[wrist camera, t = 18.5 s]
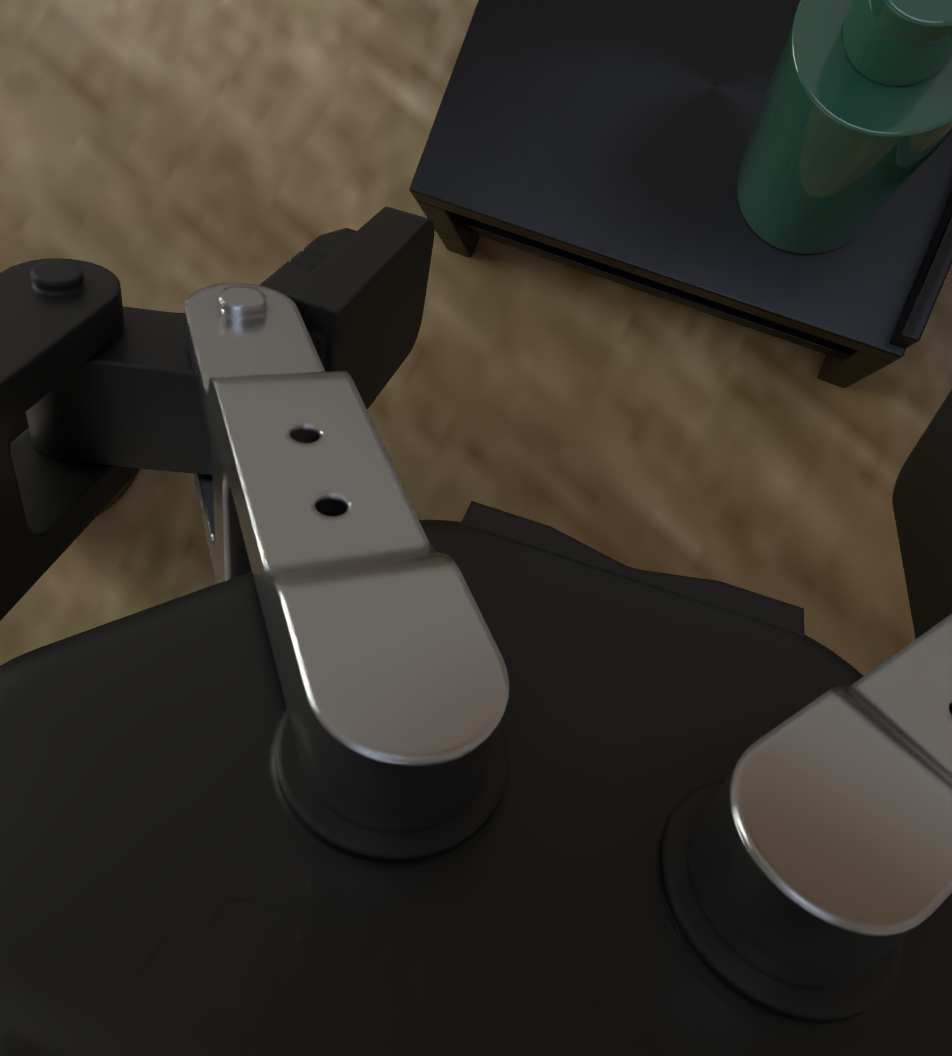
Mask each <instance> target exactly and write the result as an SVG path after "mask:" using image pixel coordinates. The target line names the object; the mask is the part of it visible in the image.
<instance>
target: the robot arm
mask: <svg viewBox="0 0 952 1056" xmlns="http://www.w3.org/2000/svg"><path fill="white" fill-rule="evenodd" d="M433 241H434V223H433V221H432V220H431V219H428V218H424V217H421V216H417V215H414V214H411V213H407V212H404V211H400V210H397V209H393V208H390V207H385V208H383V209H382V210H381V211H380V212H378V213H377V214H376V215H375V216H374V217H373V218H372V219H371V220H369V221H368V222H367V223H366V224H365V225H364V226H363V227H361V228H360V229H359V230H358V231H355V230H352V229H348V228H345V229H341V230H338V231H334V232H331V233H327V234H324V235H320V236H319V237H318V238H316V239H315V240H314V241H313V242H312V243H310V244H309V245H308V246H307V247H305V248H304V251H303V252H302V251H301V252H299V253H298V254H297V255H296V256H294V257H293V258H292V259H291V262H287V263H286V264H285V265H283V266H282V267H281V268H280V269H279V270H277V271H276V272H275V273H274V274H272V275H271V276H270V277H269V278H268V279H266V280H265V281H264V282H263V283H261V284H260V285H254V284H247V283H223V284H215V285H211V286H207V287H204V288H202V289H199V290H197V291H196V292H194V293H193V294H191V295H190V296H189V297H188V299H187V300H186V303H185V313H171V312H162V311H154V310H146V309H138V308H130V307H123V306H122V297H121V288H120V282H119V280H118V278H117V277H116V276H115V275H114V274H113V273H112V272H111V271H109V270H107V269H106V268H103V267H101V266H99V265H96V264H93V263H89V262H85V261H80V260H73V259H41V260H34V261H29V262H25V263H21V264H18V265H15V266H13V267H11V268H9V269H7V270H5V271H3V272H2V273H0V621H1V619H2V618H3V617H4V616H5V615H6V614H7V613H8V612H9V611H10V610H11V609H12V608H13V606H14V605H15V604H16V603H17V602H18V601H19V600H20V599H21V598H22V597H23V596H24V594H25V593H26V592H27V591H28V590H29V589H30V588H31V587H32V586H33V585H34V584H35V582H36V581H37V580H38V579H39V578H40V577H41V576H42V575H43V574H44V573H45V572H46V571H47V569H48V568H49V567H50V566H51V565H52V564H53V563H54V562H55V561H56V560H57V559H58V557H59V556H60V555H61V554H62V553H63V552H64V551H65V550H66V549H67V548H68V547H69V545H70V544H71V543H72V542H73V541H74V540H75V539H76V538H77V537H78V536H79V535H80V533H81V532H82V531H83V530H84V529H85V528H86V527H87V526H88V525H89V524H90V523H91V522H92V520H93V519H94V518H95V517H96V516H97V515H98V514H99V513H101V512H102V511H104V510H105V509H107V508H108V507H109V506H110V505H111V504H113V503H114V502H115V501H116V500H117V499H118V498H119V497H120V496H121V494H122V493H123V492H124V491H125V489H126V488H127V486H128V485H129V483H130V482H131V480H132V478H133V476H134V474H135V473H136V472H137V470H138V468H142V469H153V470H163V471H174V472H185V473H194V474H195V486H196V490H197V495H198V500H199V504H200V509H201V514H202V518H203V523H204V528H205V532H206V537H207V542H208V547H209V551H210V556H211V561H212V565H213V570H214V576H215V583H216V584H215V585H213V586H210V587H207V588H204V589H201V590H199V591H196V592H193V593H190V594H188V595H185V596H182V597H179V598H176V599H174V600H171V601H168V602H165V603H163V604H160V605H157V606H154V607H151V608H149V609H146V610H143V611H140V612H138V613H135V614H132V615H129V616H126V617H124V618H121V619H118V620H115V621H113V622H110V623H107V624H104V625H101V626H99V627H96V628H93V629H90V630H88V631H85V632H82V633H79V634H76V635H74V636H71V637H68V638H65V639H63V640H60V641H57V642H54V643H51V644H49V645H46V646H43V647H40V648H38V649H35V650H33V651H30V652H28V653H26V654H23V655H21V656H19V657H16V658H14V659H12V660H10V661H8V662H6V663H5V664H3V665H1V666H0V1056H952V390H951V392H950V393H949V395H948V396H947V398H946V399H945V401H944V402H943V404H942V406H941V407H940V409H939V410H938V412H937V413H936V415H935V416H934V418H933V420H932V421H931V423H930V424H929V426H928V427H927V429H926V430H925V432H924V434H923V435H922V437H921V438H920V440H919V441H918V443H917V444H916V446H915V448H914V449H913V451H912V452H911V454H910V455H909V457H908V458H907V460H906V462H905V463H904V465H903V467H902V469H901V471H900V473H899V475H898V478H897V481H896V484H895V487H894V491H893V509H894V515H895V520H896V526H897V532H898V538H899V544H900V550H901V556H902V561H903V567H904V573H905V579H906V585H907V591H908V597H909V602H910V608H911V614H912V620H913V626H914V632H915V638H916V640H914V641H913V642H911V643H910V644H909V645H907V646H906V647H904V648H903V649H901V650H900V651H899V652H897V653H896V654H894V655H893V656H892V657H890V658H889V659H887V660H886V661H885V662H883V663H882V664H880V665H879V666H878V667H876V668H875V669H873V670H872V671H871V672H869V673H868V674H866V675H865V676H863V675H862V674H861V673H859V672H858V671H857V670H856V669H855V668H854V667H852V666H851V665H850V664H849V663H848V662H846V661H845V660H843V659H842V658H841V657H839V656H838V655H837V654H835V653H834V652H833V651H831V650H830V649H828V648H826V647H825V646H823V645H822V644H820V643H818V642H817V641H815V640H813V639H812V638H810V637H808V636H806V635H804V609H803V608H800V607H797V606H794V605H791V604H788V603H785V602H782V601H779V600H776V599H773V598H770V597H766V596H763V595H760V594H757V593H754V592H751V591H748V590H745V589H742V588H739V587H736V586H732V585H729V584H726V583H723V582H720V581H714V580H707V579H700V578H693V577H686V576H679V575H672V574H665V573H658V572H651V571H644V570H638V569H634V568H631V567H628V566H626V565H623V564H621V563H619V562H618V561H616V560H614V559H612V558H610V557H608V556H606V555H604V554H602V553H600V552H598V551H596V550H595V549H593V548H591V547H589V546H587V545H585V544H583V543H581V542H579V541H577V540H575V539H573V538H572V537H570V536H568V535H566V534H564V533H562V532H560V531H558V530H556V529H554V528H552V527H550V526H547V525H544V524H541V523H538V522H535V521H532V520H529V519H526V518H523V517H519V516H516V515H513V514H510V513H507V512H504V511H501V510H498V509H495V508H492V507H489V506H485V505H482V504H479V503H476V502H473V501H472V502H471V504H470V506H469V508H468V510H467V512H466V514H465V516H464V518H463V520H462V522H456V521H444V520H418V518H417V515H416V513H415V511H414V509H413V507H412V505H411V503H410V501H409V498H408V496H407V494H406V492H405V490H404V488H403V486H402V483H401V481H400V479H399V477H398V475H397V473H396V471H395V469H394V466H393V464H392V462H391V460H390V458H389V456H388V454H387V452H386V449H385V447H384V445H383V443H382V441H381V439H380V437H379V434H378V432H377V430H376V428H375V426H374V424H373V422H372V420H371V417H370V415H369V413H368V411H367V409H368V408H369V406H370V405H371V404H372V403H373V401H374V400H375V399H376V397H377V396H378V395H379V393H380V392H381V391H382V389H383V388H384V387H385V385H386V384H387V383H388V381H389V380H390V379H391V377H392V376H393V375H394V373H395V372H396V371H397V369H398V368H399V367H400V365H401V364H402V363H403V361H404V360H405V359H406V357H407V356H408V355H409V353H410V352H411V350H412V348H413V346H414V344H415V341H416V338H417V336H418V332H419V329H420V325H421V321H422V316H423V309H424V302H425V295H426V289H427V282H428V275H429V268H430V261H431V255H432V248H433Z"/></svg>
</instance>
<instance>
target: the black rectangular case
mask: <svg viewBox="0 0 952 1056" xmlns="http://www.w3.org/2000/svg"><path fill="white" fill-rule="evenodd" d="M799 2H800V0H479V1H478V4H477V6H476V9H475V12H474V15H473V17H472V20H471V23H470V25H469V28H468V31H467V34H466V36H465V39H464V42H463V45H462V47H461V50H460V53H459V55H458V58H457V61H456V64H455V66H454V69H453V72H452V74H451V77H450V80H449V83H448V85H447V88H446V91H445V94H444V96H443V99H442V102H441V104H440V107H439V110H438V113H437V115H436V118H435V121H434V124H433V126H432V129H431V132H430V134H429V137H428V140H427V143H426V145H425V148H424V151H423V153H422V156H421V159H420V162H419V164H418V167H417V170H416V173H415V175H414V178H413V181H412V183H411V186H410V192H411V193H412V195H413V196H414V198H415V199H416V201H417V202H418V204H419V205H420V207H421V209H422V210H423V212H424V213H425V215H426V216H427V218H428V219H431V220H432V221H433V223H434V229H435V231H436V232H437V234H438V235H439V237H440V239H441V240H442V242H443V243H444V245H445V247H446V248H447V249H448V250H450V251H453V252H456V253H459V254H462V255H464V256H467V257H471V256H472V254H473V251H474V248H475V246H476V243H477V240H478V238H479V235H481V236H484V237H487V238H490V239H492V240H495V241H498V242H501V243H504V244H507V245H510V246H513V247H516V248H519V249H522V250H525V251H527V252H530V253H533V254H536V255H539V256H542V257H545V258H548V259H551V260H554V261H557V262H560V263H562V264H565V265H568V266H571V267H574V268H577V269H580V270H583V271H586V272H589V273H592V274H594V275H597V276H600V277H603V278H606V279H609V280H612V281H615V282H618V283H621V284H624V285H627V286H629V287H632V288H635V289H638V290H641V291H644V292H647V293H650V294H653V295H656V296H659V297H661V298H664V299H667V300H670V301H673V302H676V303H679V304H682V305H685V306H688V307H691V308H694V309H696V310H699V311H702V312H705V313H708V314H711V315H714V316H717V317H720V318H723V319H726V320H728V321H731V322H734V323H737V324H740V325H743V326H746V327H749V328H752V329H755V330H758V331H761V332H763V333H766V334H769V335H772V336H775V337H778V338H781V339H784V340H787V341H790V342H793V343H796V344H798V345H801V346H804V347H807V348H810V349H813V350H816V351H819V352H822V353H825V354H827V356H826V358H825V361H824V363H823V365H822V368H821V370H820V373H819V375H818V379H820V380H823V381H826V382H829V383H832V384H834V385H837V386H840V387H843V388H846V387H848V386H850V385H852V384H854V383H855V382H857V381H859V380H861V379H863V378H865V377H867V376H868V375H870V374H872V373H874V372H876V371H878V370H879V369H881V368H883V367H885V366H887V365H889V364H891V363H892V362H894V361H896V360H897V359H899V358H901V357H902V356H903V355H904V352H905V350H906V348H907V347H909V346H911V345H913V344H914V343H916V342H918V341H919V340H920V338H921V336H922V333H923V331H924V328H925V326H926V324H927V321H928V319H929V317H930V314H931V312H932V309H933V307H934V305H935V302H936V300H937V297H938V295H939V293H940V290H941V288H942V286H943V283H944V281H945V278H946V276H947V274H948V271H949V269H950V267H951V264H952V133H951V134H950V135H949V136H948V137H947V138H946V139H945V141H944V142H943V143H942V144H941V145H940V146H939V147H938V148H937V150H936V151H935V152H934V153H933V154H932V155H931V156H930V157H929V159H928V160H927V161H926V162H925V163H924V164H923V165H922V166H921V168H920V169H919V170H918V171H917V172H916V173H915V174H914V175H913V177H912V178H911V179H910V180H909V181H908V182H907V183H906V184H905V186H904V187H903V188H902V189H901V190H900V191H899V192H898V193H897V195H896V196H895V197H894V198H893V199H892V200H891V201H890V203H889V204H888V205H887V206H886V207H885V208H884V209H883V210H882V212H881V213H880V214H879V215H878V216H877V217H876V218H875V219H874V221H873V222H872V223H871V224H870V225H869V226H868V227H867V228H866V229H865V230H864V231H863V232H862V233H861V234H860V235H859V236H858V237H856V238H855V239H853V240H852V241H850V242H849V243H847V244H845V245H843V246H841V247H839V248H836V249H834V250H831V251H827V252H823V253H816V254H798V253H792V252H788V251H784V250H781V249H779V248H776V247H774V246H772V245H771V244H769V243H767V242H766V241H764V240H763V239H762V238H760V237H759V236H758V235H757V234H756V233H755V232H754V231H753V230H752V228H751V227H750V226H749V224H748V223H747V221H746V220H745V218H744V216H743V214H742V211H741V209H740V206H739V201H738V197H737V177H738V171H739V167H740V164H741V161H742V158H743V156H744V153H745V150H746V147H747V145H748V142H749V139H750V136H751V134H752V131H753V128H754V125H755V123H756V120H757V117H758V114H759V111H760V109H761V106H762V103H763V100H764V98H765V95H766V92H767V89H768V87H769V84H770V81H771V78H772V76H773V73H774V70H775V67H776V65H777V62H778V59H779V56H780V54H781V51H782V48H783V45H784V43H785V40H786V37H787V34H788V32H789V29H790V26H791V23H792V21H793V18H794V15H795V12H796V10H797V7H798V4H799Z"/></svg>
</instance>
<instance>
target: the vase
mask: <svg viewBox="0 0 952 1056" xmlns="http://www.w3.org/2000/svg"><path fill="white" fill-rule="evenodd" d="M951 133H952V0H800V2H799V4H798V7H797V10H796V12H795V15H794V18H793V21H792V23H791V26H790V29H789V32H788V34H787V37H786V40H785V43H784V45H783V48H782V51H781V54H780V56H779V59H778V62H777V65H776V67H775V70H774V73H773V76H772V78H771V81H770V84H769V87H768V89H767V92H766V95H765V98H764V100H763V103H762V106H761V109H760V111H759V114H758V117H757V120H756V123H755V125H754V128H753V131H752V134H751V136H750V139H749V142H748V145H747V147H746V150H745V153H744V156H743V158H742V161H741V164H740V167H739V171H738V177H737V197H738V201H739V206H740V209H741V211H742V214H743V216H744V218H745V220H746V221H747V223H748V224H749V226H750V227H751V228H752V230H753V231H754V232H755V233H756V234H757V235H758V236H759V237H760V238H762V239H763V240H764V241H766V242H767V243H769V244H771V245H772V246H774V247H776V248H779V249H781V250H784V251H788V252H792V253H798V254H816V253H823V252H827V251H831V250H834V249H836V248H839V247H841V246H843V245H845V244H847V243H849V242H850V241H852V240H853V239H855V238H856V237H858V236H859V235H860V234H861V233H862V232H863V231H864V230H865V229H866V228H867V227H868V226H869V225H870V224H871V223H872V222H873V221H874V219H875V218H876V217H877V216H878V215H879V214H880V213H881V212H882V210H883V209H884V208H885V207H886V206H887V205H888V204H889V203H890V201H891V200H892V199H893V198H894V197H895V196H896V195H897V193H898V192H899V191H900V190H901V189H902V188H903V187H904V186H905V184H906V183H907V182H908V181H909V180H910V179H911V178H912V177H913V175H914V174H915V173H916V172H917V171H918V170H919V169H920V168H921V166H922V165H923V164H924V163H925V162H926V161H927V160H928V159H929V157H930V156H931V155H932V154H933V153H934V152H935V151H936V150H937V148H938V147H939V146H940V145H941V144H942V143H943V142H944V141H945V139H946V138H947V137H948V136H949V135H950V134H951Z"/></svg>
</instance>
